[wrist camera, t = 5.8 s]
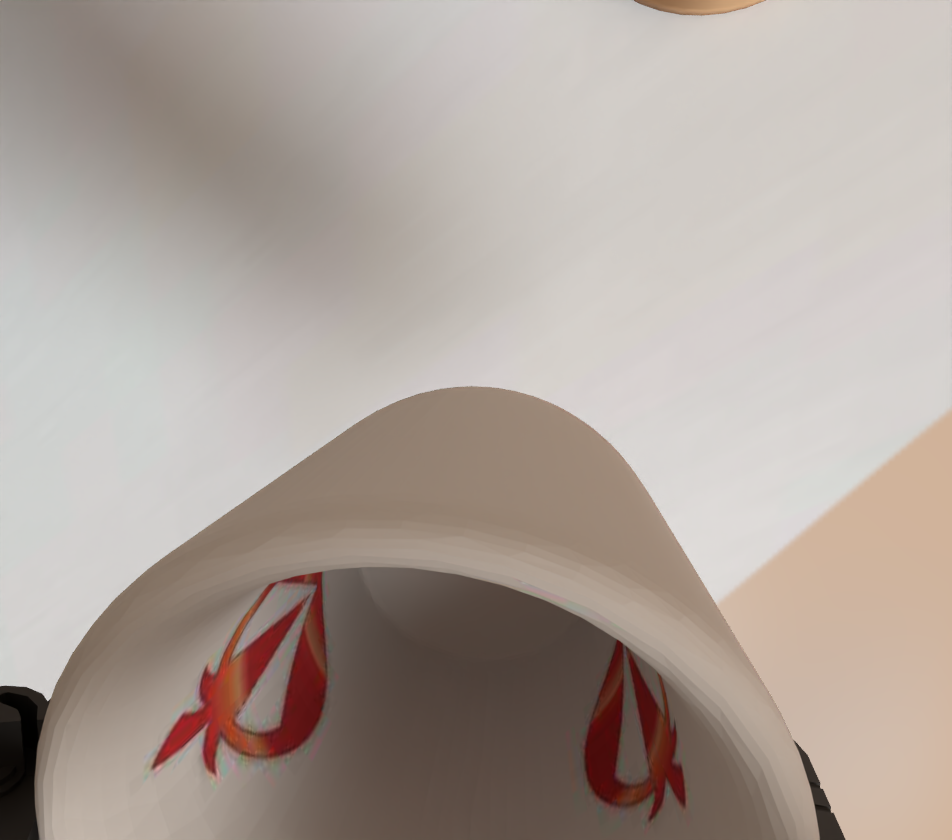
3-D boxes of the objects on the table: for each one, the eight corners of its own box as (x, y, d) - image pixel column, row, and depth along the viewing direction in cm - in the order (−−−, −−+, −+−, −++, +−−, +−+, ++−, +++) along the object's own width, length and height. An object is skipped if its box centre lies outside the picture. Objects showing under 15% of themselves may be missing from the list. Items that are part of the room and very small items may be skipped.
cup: (627, 820, 16) (687, 1356, 9) (287, 766, 17) (73, 1227, 9) (720, 361, 13) (944, 590, 6) (294, 313, 14) (-27, 462, 6)
